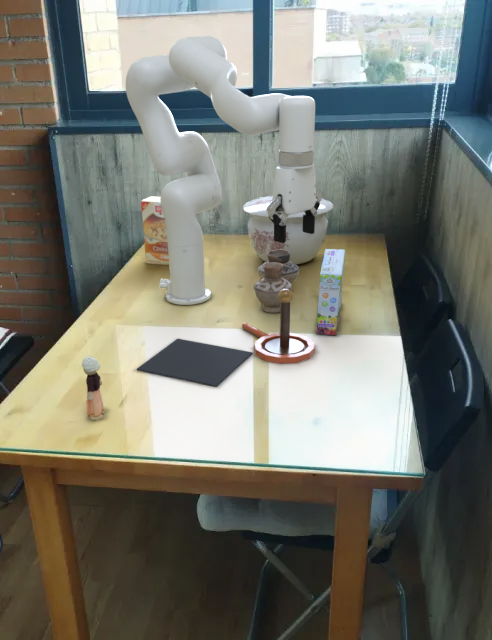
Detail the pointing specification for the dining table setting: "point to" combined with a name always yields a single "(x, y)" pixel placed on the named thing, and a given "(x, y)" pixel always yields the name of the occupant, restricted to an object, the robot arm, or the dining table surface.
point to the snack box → (330, 291)
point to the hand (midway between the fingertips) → (294, 237)
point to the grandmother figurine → (93, 389)
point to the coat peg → (284, 329)
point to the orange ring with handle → (276, 357)
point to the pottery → (275, 279)
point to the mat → (195, 362)
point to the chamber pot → (297, 241)
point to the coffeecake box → (154, 231)
